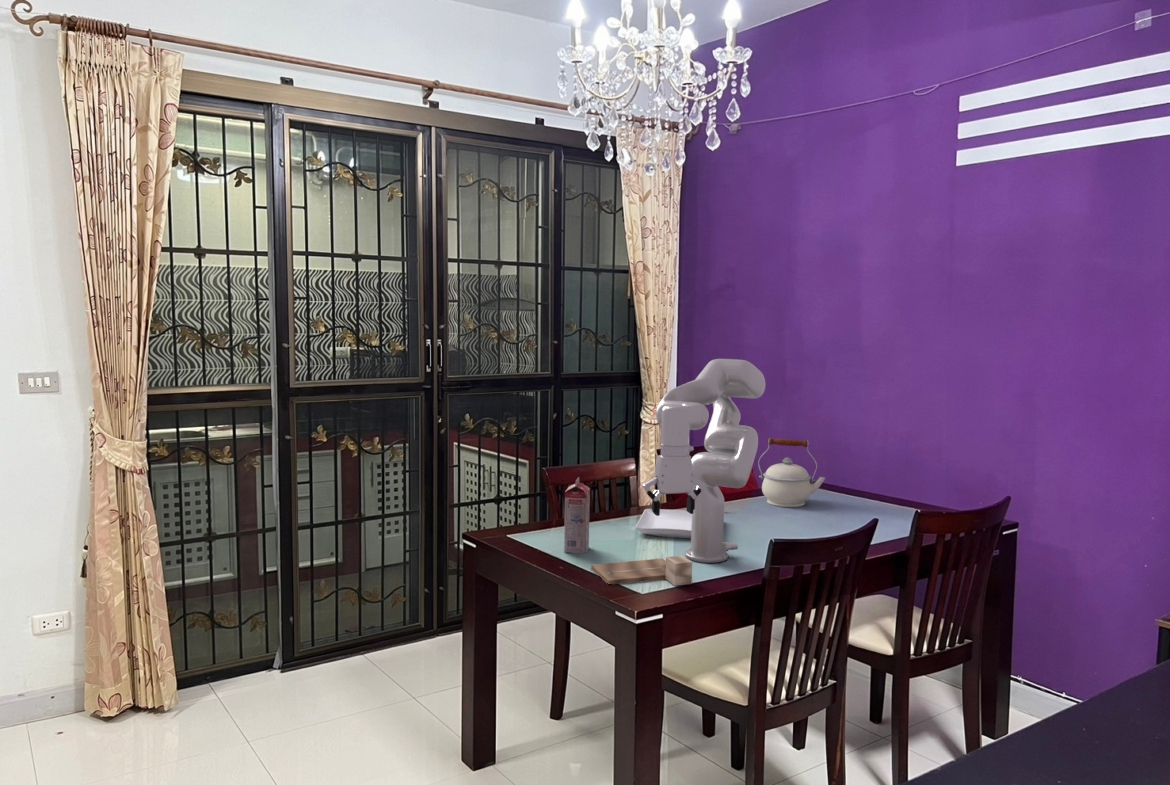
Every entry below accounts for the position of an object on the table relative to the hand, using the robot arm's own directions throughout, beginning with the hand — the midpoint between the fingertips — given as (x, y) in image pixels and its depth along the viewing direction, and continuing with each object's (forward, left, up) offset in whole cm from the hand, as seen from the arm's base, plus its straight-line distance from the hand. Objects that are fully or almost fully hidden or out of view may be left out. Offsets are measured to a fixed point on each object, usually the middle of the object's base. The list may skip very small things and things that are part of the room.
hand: (673, 513), depth 225 cm
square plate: (-26, -48, -20) cm, 58 cm away
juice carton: (+15, -35, -19) cm, 43 cm away
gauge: (-2, -2, -19) cm, 19 cm away
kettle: (-83, -70, -19) cm, 110 cm away
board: (+6, -9, -19) cm, 22 cm away
